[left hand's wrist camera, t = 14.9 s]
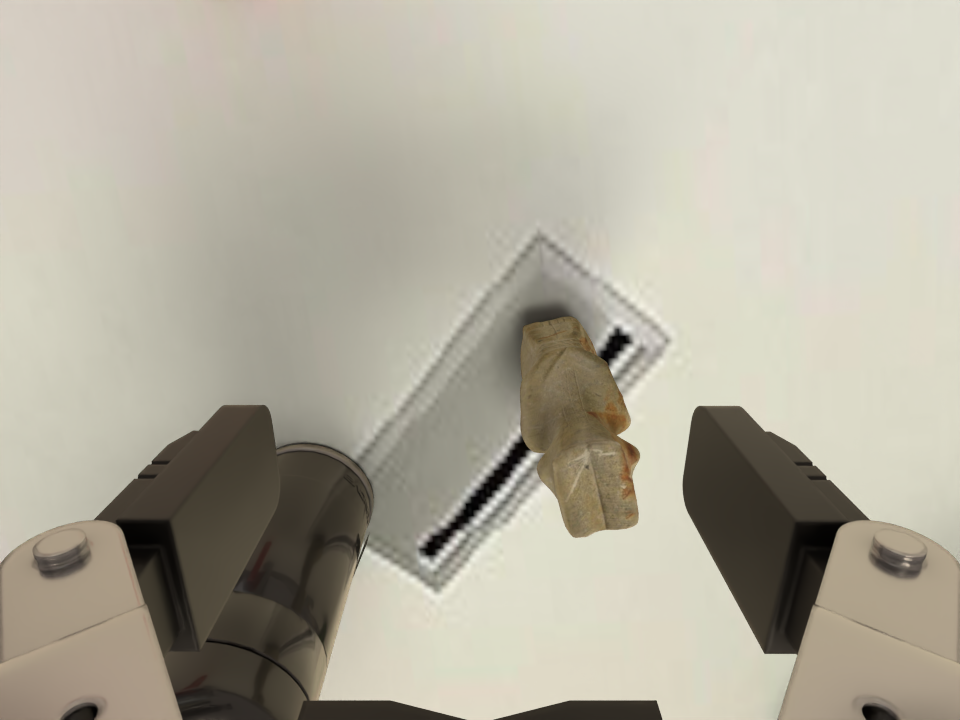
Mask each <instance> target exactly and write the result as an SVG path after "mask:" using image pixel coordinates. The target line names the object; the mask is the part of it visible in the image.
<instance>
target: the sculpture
mask: <svg viewBox="0 0 960 720" xmlns="http://www.w3.org/2000/svg"><path fill="white" fill-rule="evenodd" d="M521 374H522V382H521V387H520V404H521V422H520V426H521V434H522V437H523V439H524V441H525V443H526V445H527V446H528V448H529V449H530V450H532V451H533V452H537V453H545V454H544V455H543V457H542V458H541V459H540V461H539V463H538V465H537V472H538V475H539V477H540V479H541V481H542V482H543V483H544V484H545V485H546V486H547V487H548V488H549V489H550V490H551V491H552V492H553V493H554V495H555V496H556V498H557V499H558V502H559V506H560V510H561V514H562V517H563V521H564V524H565V527H566V528H567V530H568V531H569V533H570V534H571V535H572V536H573V537H575V538H578V537H587V536H589V535H591V534H593V533H595V532H598V531H601V530H618V529H627V528H630V527H633V526H635V525H636V524H637V523H638V515H639V513H638V506H637V499H636V495H635V490H634V485H633V479H632V474H633V471H634V468H635V466H636V464H637V463H638V461H639V459H640V453H639V451H638V449H637V448H636V447H634V446H633V445H631V444H630V443H628V442H626V441H625V440H623V439H621V438H620V437H618V436H617V435H618V434H620V433H622V432H623V431H625V430H626V429H627V428H628V427H629V426H630V423H631V419H630V416H629V413H628V411H627V408H626V406H625V403H624V400H623V396H622V394H621V393H620V391H619V389H618V387H617V385H616V383H615V381H614V378H613V376H612V374H611V371H610V369H609V367H608V364H607V363H606V361H604V360H603V359H602V358H600V357H599V356H597V354H596V351H595V349H594V346H593V344H592V342H591V340H590V338H589V336H588V334H587V333H586V331H585V330H584V328H583V327H582V325H581V324H580V322H579V321H578V320H577V319H575V318H573V317H560V318H556V319H554V320H549V321H544V322H535V323H532V324H529V325H525V326H524V327H523V339H522V345H521Z"/></svg>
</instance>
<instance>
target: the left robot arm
mask: <svg viewBox="0 0 960 720" xmlns="http://www.w3.org/2000/svg"><path fill="white" fill-rule="evenodd" d="M683 496H684V502H685V506H686V509H687V511H688V513H689V515H690V517H691V519H692V521H693V523H694V525H695V526H696V528H697V530H698V532H699V534H700V536H701V537H702V539H703V541H704V543H705V545H706V547H707V548H708V550H709V552H710V554H711V556H712V558H713V560H714V561H715V563H716V565H717V567H718V569H719V571H720V572H721V574H722V576H723V578H724V580H725V582H726V583H727V585H728V587H729V589H730V591H731V593H732V594H733V596H734V598H735V600H736V602H737V604H738V606H739V607H740V609H741V611H742V613H743V615H744V617H745V618H746V620H747V622H748V624H749V626H750V628H751V629H752V631H753V633H754V635H755V637H756V639H757V641H758V642H759V644H760V646H761V648H762V650H763V652H764V653H765V654H797V658H796V661H795V665H794V668H793V671H792V674H791V678H790V681H789V684H788V687H787V691H786V694H785V697H784V700H783V703H782V707H781V710H780V713H779V716H778V720H960V564H959V562H958V561H957V560H956V559H955V557H954V556H952V555H951V554H950V553H949V552H948V551H947V550H946V549H944V548H943V547H942V546H940V545H939V544H937V543H936V542H934V541H933V540H931V539H929V538H927V537H925V536H923V535H921V534H919V533H917V532H914V531H912V530H909V529H907V528H904V527H901V526H897V525H894V524H890V523H885V522H880V521H871V520H869V519H868V518H867V517H866V516H865V515H864V514H863V513H862V512H861V511H860V510H859V509H858V508H857V507H856V506H855V505H854V504H853V503H852V502H851V501H850V500H849V499H848V498H847V497H846V496H845V495H844V494H843V493H842V492H841V491H840V490H839V489H838V488H837V487H836V486H835V485H834V484H833V483H832V482H831V481H830V480H827V479H826V476H825V475H824V474H823V473H822V472H821V471H820V470H819V469H818V468H817V467H816V466H813V465H812V462H811V461H810V460H809V459H808V458H807V457H806V456H805V455H804V454H803V453H802V452H801V451H800V450H799V449H798V448H797V447H796V446H795V445H793V444H791V443H790V442H788V441H786V440H784V439H783V438H781V437H779V436H777V435H775V434H774V433H772V432H765V431H764V430H763V429H762V428H761V427H760V426H759V425H758V424H757V423H756V422H755V421H754V420H753V418H752V417H751V416H750V415H749V414H748V413H747V412H746V411H745V410H744V409H743V408H742V407H740V406H698V407H697V408H696V409H695V411H694V413H693V416H692V421H691V428H690V434H689V441H688V448H687V455H686V462H685V468H684V475H683ZM373 504H374V500H373V492H372V489H371V486H370V483H369V481H368V479H367V477H366V476H365V474H364V473H363V472H362V470H361V469H360V468H359V467H358V466H357V465H356V464H355V463H354V462H353V461H351V460H350V459H349V458H347V457H346V456H344V455H342V454H341V453H339V452H337V451H335V450H332V449H329V448H326V447H323V446H318V445H311V444H296V445H289V446H285V447H282V448H279V449H277V450H276V446H275V439H274V432H273V425H272V419H271V414H270V411H269V409H268V408H267V407H266V406H265V405H224V406H222V407H221V408H220V409H219V410H218V411H217V412H216V413H215V414H214V415H213V416H212V417H211V418H210V419H209V420H208V422H207V423H206V424H205V425H204V426H203V427H202V428H201V429H200V430H199V431H192V432H190V433H188V434H187V435H185V436H183V437H181V438H179V439H178V440H176V441H174V442H172V443H170V444H169V445H167V446H166V447H165V448H164V449H163V450H162V451H161V452H160V453H159V455H158V456H157V457H156V458H155V459H154V460H153V461H152V464H151V465H148V466H147V467H146V468H145V469H144V470H143V471H142V472H141V473H140V474H139V475H138V479H134V480H133V481H132V482H131V483H130V484H129V485H128V486H127V487H126V488H125V489H124V490H123V491H122V492H121V493H120V494H119V495H118V496H117V497H116V498H115V499H114V500H113V501H112V502H111V503H110V504H109V505H108V506H107V507H106V508H105V509H104V510H103V511H102V512H101V513H100V514H99V515H98V516H97V517H96V518H95V519H94V520H89V521H80V522H75V523H70V524H66V525H63V526H59V527H56V528H53V529H51V530H48V531H46V532H43V533H41V534H39V535H37V536H35V537H33V538H31V539H29V540H27V541H26V542H24V543H23V544H21V545H20V546H18V547H17V548H16V549H14V550H13V551H12V552H11V553H10V554H9V555H8V556H6V557H5V559H4V560H3V561H2V562H1V564H0V720H465V719H461V718H457V717H453V716H449V715H445V714H441V713H437V712H434V711H430V710H426V709H422V708H418V707H414V706H410V705H406V704H402V703H398V702H394V701H318V700H319V696H320V693H321V689H322V686H323V682H324V678H325V675H326V671H327V667H328V664H329V660H330V656H331V653H332V649H333V646H334V642H335V639H336V635H337V632H338V628H339V624H340V621H341V617H342V614H343V610H344V607H345V603H346V600H347V596H348V592H349V589H350V585H351V582H352V579H353V576H354V574H355V571H356V569H357V566H358V564H359V561H360V559H361V556H362V554H363V551H364V549H365V547H366V544H367V540H368V537H367V540H366V542H365V545H364V547H363V550H362V552H361V555H360V557H359V553H360V550H361V546H362V543H363V539H364V536H365V532H366V529H367V527H368V525H369V522H370V519H371V516H372V512H373ZM369 533H370V532H369ZM368 536H369V535H368ZM358 557H359V560H358ZM357 561H358V562H357ZM495 720H662V717H661V714H660V710H659V707H658V704H657V701H566V702H562V703H558V704H554V705H550V706H546V707H542V708H538V709H534V710H530V711H526V712H523V713H519V714H515V715H511V716H507V717H503V718H499V719H495Z"/></svg>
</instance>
